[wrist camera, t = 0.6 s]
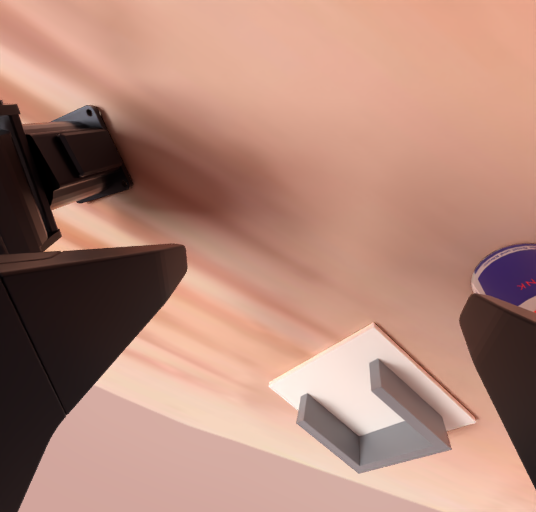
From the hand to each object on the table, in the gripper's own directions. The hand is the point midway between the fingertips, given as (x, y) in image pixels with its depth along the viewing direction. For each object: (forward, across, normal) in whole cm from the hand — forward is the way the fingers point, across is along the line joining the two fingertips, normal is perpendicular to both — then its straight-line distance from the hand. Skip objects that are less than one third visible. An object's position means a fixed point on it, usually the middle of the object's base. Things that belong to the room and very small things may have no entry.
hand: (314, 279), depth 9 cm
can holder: (+13, +7, -21) cm, 26 cm away
